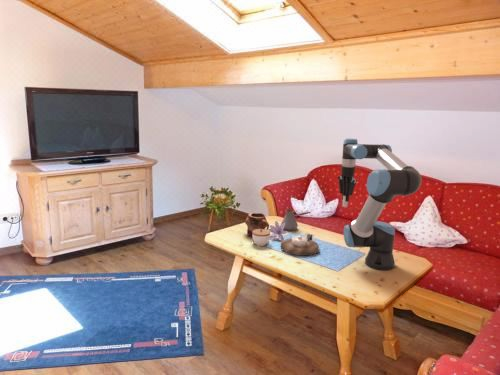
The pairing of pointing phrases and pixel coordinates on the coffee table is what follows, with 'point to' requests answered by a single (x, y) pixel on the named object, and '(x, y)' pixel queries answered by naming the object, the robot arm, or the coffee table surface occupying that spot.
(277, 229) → the water lily
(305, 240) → the lid
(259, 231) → the lidded jar
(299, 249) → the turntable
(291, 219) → the coffee pot
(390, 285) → the coffee table surface
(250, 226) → the decorative planter
